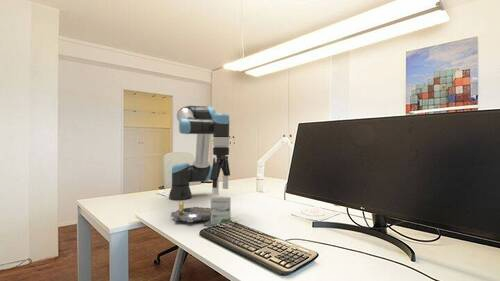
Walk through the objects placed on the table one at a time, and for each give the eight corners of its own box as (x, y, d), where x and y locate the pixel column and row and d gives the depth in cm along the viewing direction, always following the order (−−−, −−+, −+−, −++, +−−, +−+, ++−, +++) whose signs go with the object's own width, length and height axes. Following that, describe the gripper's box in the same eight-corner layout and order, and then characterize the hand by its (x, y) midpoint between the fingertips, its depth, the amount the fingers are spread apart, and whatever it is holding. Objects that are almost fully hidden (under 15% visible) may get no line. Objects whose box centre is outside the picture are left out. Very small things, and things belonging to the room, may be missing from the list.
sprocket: (162, 216, 126) (162, 200, 126) (196, 208, 142) (196, 193, 142) (188, 225, 113) (188, 207, 113) (223, 215, 129) (223, 199, 129)
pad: (211, 220, 126) (211, 218, 126) (236, 222, 123) (236, 220, 123) (203, 226, 117) (203, 224, 117) (230, 228, 114) (230, 226, 114)
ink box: (230, 221, 122) (231, 196, 122) (228, 224, 117) (228, 198, 117) (213, 220, 123) (213, 196, 123) (210, 223, 118) (210, 198, 118)
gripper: (222, 145, 133) (222, 186, 133) (202, 147, 109) (202, 197, 109) (236, 146, 131) (235, 187, 132) (219, 147, 107) (218, 198, 107)
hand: (220, 191), depth 120 cm, fingers open, 13 cm apart
